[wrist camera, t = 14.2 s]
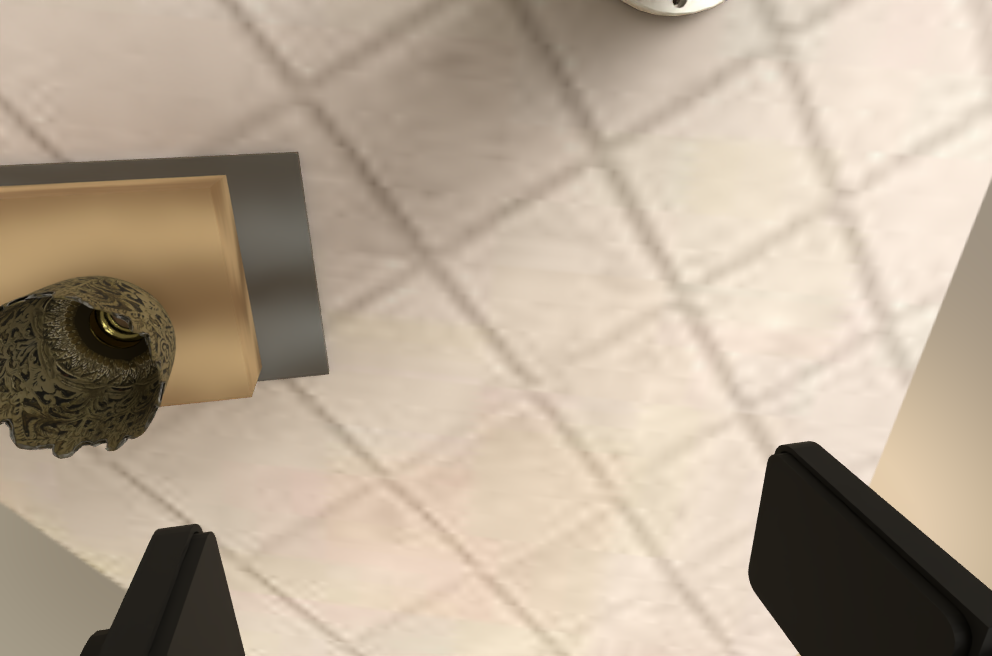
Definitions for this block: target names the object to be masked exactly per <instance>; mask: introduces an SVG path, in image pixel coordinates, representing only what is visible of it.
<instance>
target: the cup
mask: <svg viewBox="0 0 992 656" xmlns="http://www.w3.org/2000/svg"><path fill="white" fill-rule="evenodd" d="M112 316H114V317H116V318H119V319H122V320H124V321H126V322H127V323H128V327H129V328H126V327H123V326H121V325H119V324H118V323H117V322H116V321H115V320H114V319H113V317H112ZM175 352H176V337H175V331H174V327H173V324H172V322H171V320H170V317H169V316H168V314H167V312H166V310H165V309H164V308H163V306H162V305H161V304H160V303H159V302H158V301H157V299H155V298H154V297H153V296H152V295H151V294H150V293H148V292H147V291H145V290H144V289H142V288H141V287H139V286H137V285H135V284H133V283H130V282H127V281H125V280H121V279H117V278H113V277H107V276H84V277H76V278H72V279H67V280H63V281H60V282H57V283H54V284H52V285H49V286H46V287H44V288H41V289H39V290H36V291H34V292H32V293H29V294H27V295H25V296H23V297H19V298H17V299H14V300H12V301H9V302H7V303H5V304H3V305H1V306H0V422H6V423H5V424H6V425H7V426H8V427H9V430H10V437H11V439H12V441H13V442H14V444H15V445H16V446H17V447H18V448H21V449H27V450H37V449H51V448H53V449H52V451H53V455H54V456H56V457H58V458H60V459H62V458H68V457H71V456H72V455H73V454H74V453H75V451H78V450H79V448H81V447H82V446H84V445H91V446H93V447H96V446H98V445H100V444H102V443H107V446H106V447H107V448H105V449H106V450H107V451H115V450H117V449H118V448H120V447H121V446H122V445H123V444H124V443H125V442H126V441H127V439H135V438H137V437H139V436H140V435H142V434H143V433H144V432H145V431H146V429H147V428H148V426H149V425H150V423H151V421H152V420H153V418H154V416H155V414H156V411H157V409H158V407H160V406H161V402H162V397H163V394H164V391H165V389H166V386H167V383H168V380H169V377H170V374H171V371H172V367H173V363H174V359H175ZM1 424H4V423H0V425H1Z"/></svg>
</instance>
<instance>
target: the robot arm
mask: <svg viewBox="0 0 992 656" xmlns="http://www.w3.org/2000/svg"><path fill="white" fill-rule="evenodd" d="M621 1H623V2H625V3H627V4H628V5H630V6H632V7H634V8H636V9H638V10H640V11H644V12H647V13H651V14H654V15H661V16H680V15H688V14H694V13H698V12H701V11H704V10H708V9H711V8H713V7H715V6H717V5H719V4H721V3H723V2H725V1H727V0H676V4H675V5H673V0H621ZM748 575H749V580H750V584H751V586H752V588H753V590H754V592H755V593H756V595H757V596H758V597H759V599H760V600H761V602H762V603H763V604H764V606H765V607H766V608H767V610H768V611H769V613H770V614H771V615H772V617H773V618H774V619H775V621H776V622H777V623H778V625H779V626H780V628H781V629H782V630H783V632H784V633H785V634H786V636H787V637H788V639H789V640H790V641H791V643H792V644H793V645H794V647H795V648H796V649H797V651H798V652H799V654H800V655H801V656H992V590H990V589H989V588H988V587H987V586H986V585H984V584H983V583H982V582H981V581H980V580H978V579H977V578H976V577H975V576H974V575H973V574H971V573H970V572H969V571H968V570H967V569H965V568H964V567H963V566H962V565H961V564H960V563H958V562H957V561H956V560H955V559H953V558H952V557H951V556H950V555H949V554H948V553H947V552H945V551H944V550H943V549H942V548H940V547H939V546H938V545H937V544H936V543H935V542H934V541H932V540H931V539H930V538H929V537H927V536H926V535H925V534H924V533H923V532H922V531H921V530H919V529H918V528H917V527H916V526H915V525H913V524H912V523H911V522H910V521H909V520H908V519H906V518H905V517H904V516H903V515H902V514H900V513H899V512H898V511H896V509H895V508H893V507H892V506H891V505H890V504H888V503H887V502H886V501H885V500H884V499H883V498H881V497H880V496H879V495H878V494H877V493H876V492H874V491H873V490H872V489H871V488H870V487H868V486H867V485H866V484H865V483H864V482H863V481H861V480H860V479H859V478H858V477H857V476H855V475H854V474H853V473H852V472H851V471H850V470H848V469H847V468H846V467H845V466H844V465H842V464H841V463H840V462H839V461H838V460H837V459H835V458H834V457H833V456H832V455H831V454H829V453H828V452H827V451H826V450H825V449H824V448H822V447H821V446H820V445H819V444H817V443H815V442H812V441H807V442H800V443H792V444H785V445H781V446H779V447H778V448H777V449H776V451H775V454H774V455H771V456H770V457H769V459H768V462H767V467H766V473H765V479H764V484H763V490H762V495H761V501H760V507H759V512H758V518H757V524H756V529H755V535H754V540H753V546H752V552H751V557H750V563H749V569H748ZM80 656H245V652H244V648H243V645H242V641H241V637H240V633H239V629H238V625H237V621H236V617H235V613H234V609H233V605H232V601H231V597H230V593H229V589H228V585H227V581H226V577H225V573H224V569H223V565H222V561H221V557H220V553H219V549H218V545H217V541H216V537H215V535H214V533H213V532H205V533H203V531H202V529H201V527H200V526H199V525H198V524H191V525H184V526H177V527H169V528H162V529H158V530H156V531H155V533H154V534H153V536H152V538H151V540H150V542H149V545H148V547H147V549H146V551H145V553H144V555H143V558H142V560H141V562H140V564H139V566H138V569H137V571H136V573H135V575H134V577H133V580H132V582H131V584H130V586H129V588H128V590H127V593H126V595H125V597H124V599H123V602H122V604H121V606H120V608H119V610H118V613H117V615H116V617H115V619H114V621H113V624H112V626H111V628H110V629H106V630H100V631H97V632H95V633H94V634H93V635H92V636H91V637H90V638H89V640H88V641H87V643H86V645H85V646H84V648H83V650H82V652H81V654H80Z"/></svg>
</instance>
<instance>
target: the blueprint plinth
mask: <svg viewBox="0 0 992 656" xmlns="http://www.w3.org/2000/svg"><path fill="white" fill-rule="evenodd" d="M84 276H107V277H113V278H117V279H121V280H125V281H127V282H130V283H133V284H135V285H137V286H139V287H141V288H142V289H144V290H145V291H147V292H148V293H150V294H151V295H152V296H153V297H154V298H155V299H157V301H158V302H159V303H160V304H161V305H162V306H163V308H164V309H165V310H166V312H167V314H168V316H169V317H170V320H171V322H172V324H173V327H174V331H175V337H176V352H175V359H174V363H173V367H172V371H171V374H170V377H169V380H168V383H167V386H166V389H165V391H164V394H163V397H162V402H161V406H160V407H162V406H171V405H181V404H190V403H200V402H209V401H219V400H228V399H238V398H247V397H252V394H253V391H254V388H255V386H256V383H257V381H266V380H276V379H286V378H296V377H306V376H316V375H325V374H329V366H328V359H327V352H326V345H325V338H324V331H323V324H322V317H321V310H320V303H319V296H318V289H317V282H316V275H315V268H314V261H313V254H312V246H311V239H310V232H309V225H308V218H307V211H306V204H305V197H304V190H303V183H302V176H301V169H300V162H299V155H298V152H288V153H266V154H244V155H222V156H200V157H178V158H156V159H134V160H112V161H90V162H68V163H46V164H24V165H2V166H0V306H1V305H3V304H5V303H7V302H9V301H12V300H14V299H17V298H19V297H23V296H25V295H27V294H29V293H32V292H34V291H36V290H39V289H41V288H44V287H46V286H49V285H52V284H54V283H57V282H60V281H63V280H67V279H72V278H76V277H84ZM112 317H113V319H114V320H115V321H116V322H117V323H118V324H119V325H121V326H123V327H126V328H129V327H128V323H127V322H126V321H124V320H122V319H119V318H116V317H114V316H112Z"/></svg>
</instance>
